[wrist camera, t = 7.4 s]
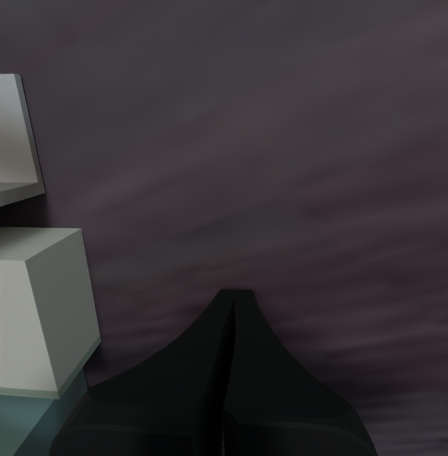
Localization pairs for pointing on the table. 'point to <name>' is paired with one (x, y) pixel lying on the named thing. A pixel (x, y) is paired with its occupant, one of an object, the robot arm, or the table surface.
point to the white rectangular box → (44, 311)
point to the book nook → (3, 194)
